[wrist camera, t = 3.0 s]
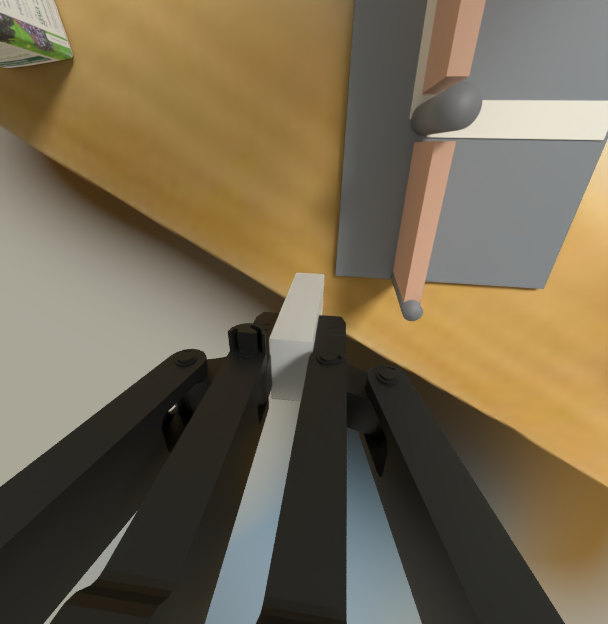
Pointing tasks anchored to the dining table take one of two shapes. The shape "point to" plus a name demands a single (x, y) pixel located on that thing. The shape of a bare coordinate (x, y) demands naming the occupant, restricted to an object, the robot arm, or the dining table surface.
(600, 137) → the card
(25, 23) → the syrup box
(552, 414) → the dining table surface
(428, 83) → the fence fixed
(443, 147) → the fence panel
